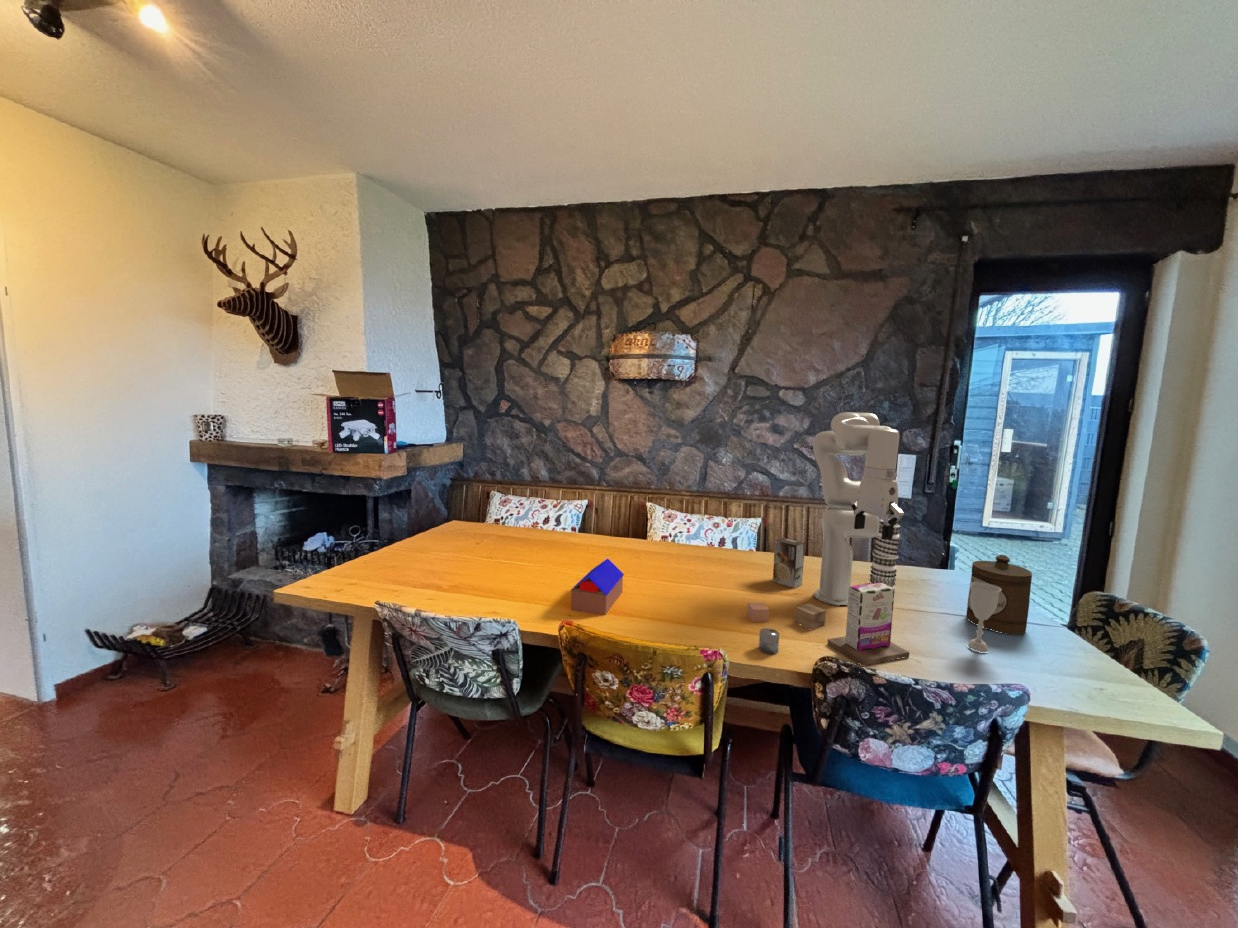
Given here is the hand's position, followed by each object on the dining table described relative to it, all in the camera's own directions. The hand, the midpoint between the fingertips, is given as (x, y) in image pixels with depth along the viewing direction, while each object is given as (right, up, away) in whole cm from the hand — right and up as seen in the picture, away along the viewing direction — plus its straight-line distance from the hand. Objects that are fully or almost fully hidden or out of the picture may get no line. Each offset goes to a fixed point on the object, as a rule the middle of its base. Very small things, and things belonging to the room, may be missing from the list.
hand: (872, 533), depth 137 cm
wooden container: (+46, -31, +15) cm, 57 cm away
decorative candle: (+27, -26, +45) cm, 59 cm away
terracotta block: (-28, -28, +15) cm, 43 cm away
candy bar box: (-4, -30, -4) cm, 30 cm away
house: (-78, -26, +25) cm, 86 cm away
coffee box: (-8, -25, +46) cm, 53 cm away
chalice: (+28, -32, -1) cm, 43 cm away
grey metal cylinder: (-31, -31, -5) cm, 44 cm away
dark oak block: (-13, -29, +12) cm, 34 cm away
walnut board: (-3, -31, -4) cm, 32 cm away
